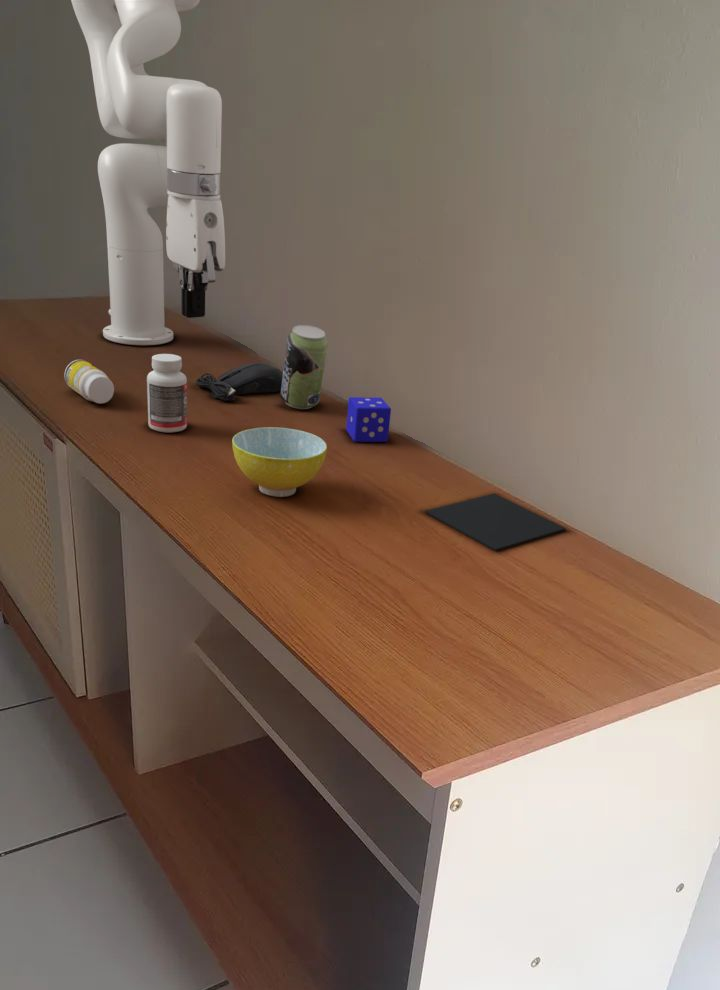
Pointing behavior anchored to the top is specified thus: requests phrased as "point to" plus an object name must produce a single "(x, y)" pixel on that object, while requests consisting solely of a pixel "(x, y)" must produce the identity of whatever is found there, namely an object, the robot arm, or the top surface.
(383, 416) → the die
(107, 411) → the top surface
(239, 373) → the computer mouse
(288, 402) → the beverage can
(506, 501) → the mat
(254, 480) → the bowl
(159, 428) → the pill bottle
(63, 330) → the top surface
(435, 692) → the top surface
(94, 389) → the supplement bottle
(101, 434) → the top surface
